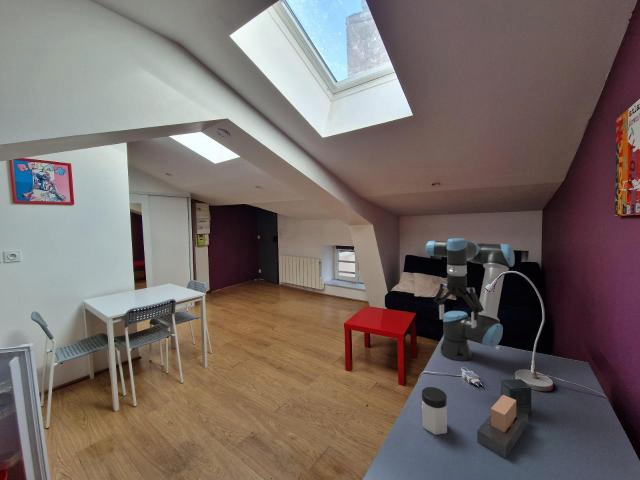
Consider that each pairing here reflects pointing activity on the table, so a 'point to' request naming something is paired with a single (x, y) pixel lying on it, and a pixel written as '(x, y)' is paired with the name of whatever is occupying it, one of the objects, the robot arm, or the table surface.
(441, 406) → the jar
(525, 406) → the box
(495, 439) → the grey slotted block
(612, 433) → the table surface
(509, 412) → the orange tan block
